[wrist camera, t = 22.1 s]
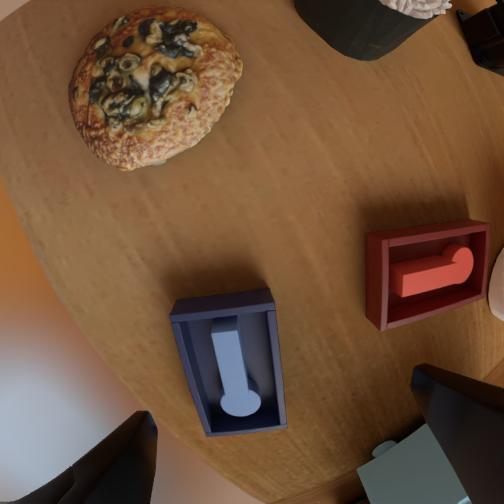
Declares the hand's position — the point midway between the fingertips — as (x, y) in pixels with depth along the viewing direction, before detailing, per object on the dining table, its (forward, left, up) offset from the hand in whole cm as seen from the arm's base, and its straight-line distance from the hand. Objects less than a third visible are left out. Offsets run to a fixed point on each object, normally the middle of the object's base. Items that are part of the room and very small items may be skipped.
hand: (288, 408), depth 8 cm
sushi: (-9, -19, -11) cm, 24 cm away
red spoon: (-13, 0, -10) cm, 16 cm away
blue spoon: (+2, +5, -10) cm, 11 cm away
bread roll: (+5, -14, -11) cm, 18 cm away
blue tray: (+2, +5, -11) cm, 12 cm away
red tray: (-12, 0, -11) cm, 16 cm away
